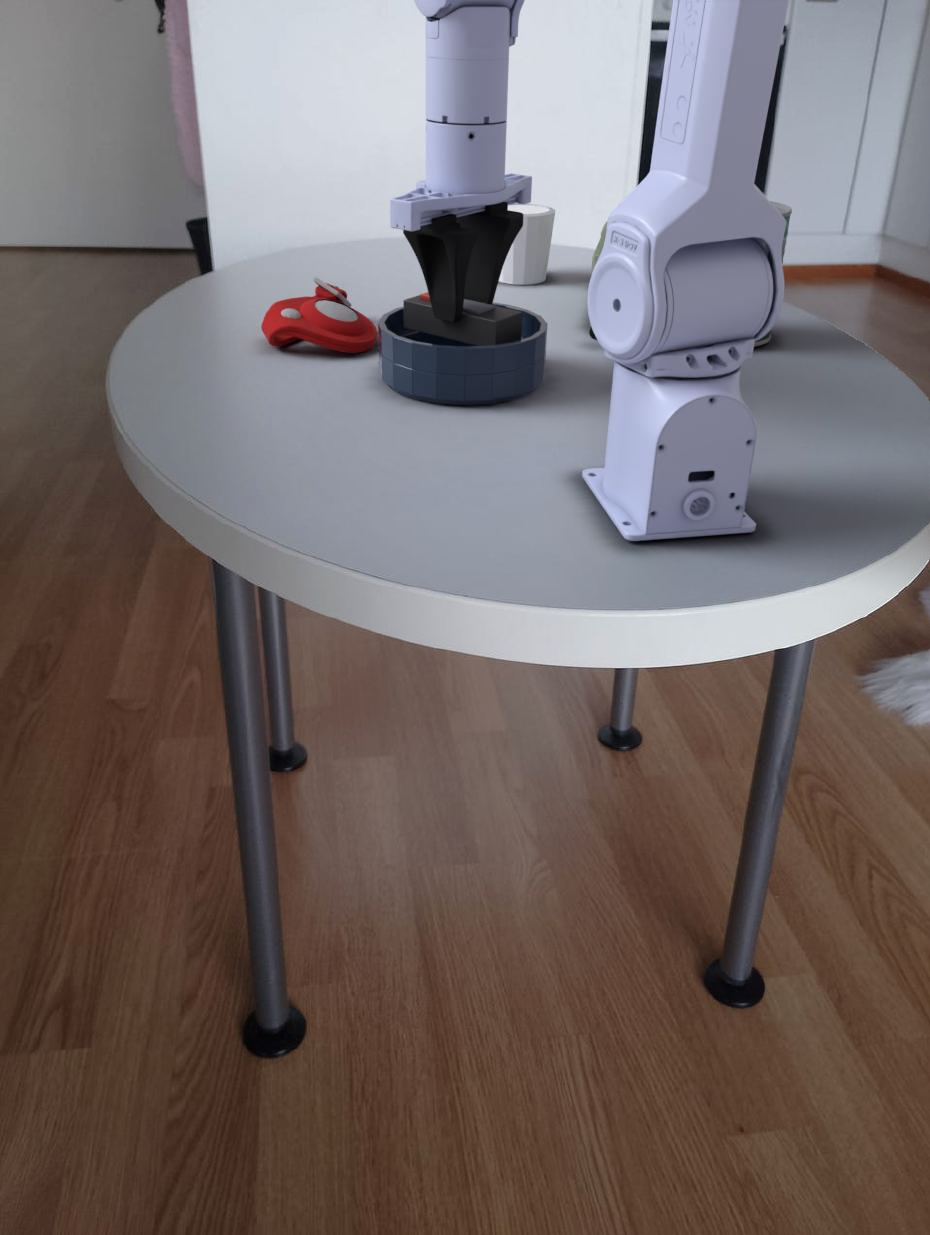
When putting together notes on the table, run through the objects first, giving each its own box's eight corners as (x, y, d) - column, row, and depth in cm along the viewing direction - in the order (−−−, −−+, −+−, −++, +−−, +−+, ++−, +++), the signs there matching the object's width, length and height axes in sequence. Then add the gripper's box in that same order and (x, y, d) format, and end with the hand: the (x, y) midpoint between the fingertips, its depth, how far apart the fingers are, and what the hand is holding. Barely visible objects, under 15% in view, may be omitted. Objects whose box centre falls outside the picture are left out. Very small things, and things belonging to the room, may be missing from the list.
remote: (521, 340, 81) (522, 307, 80) (495, 350, 79) (496, 317, 77) (430, 318, 86) (430, 287, 84) (403, 327, 83) (403, 296, 82)
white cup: (479, 282, 110) (481, 212, 106) (496, 268, 115) (499, 200, 112) (543, 288, 108) (547, 217, 105) (558, 273, 114) (562, 205, 110)
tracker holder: (400, 337, 89) (290, 323, 84) (385, 383, 92) (277, 372, 86) (349, 272, 97) (245, 255, 91) (336, 316, 99) (234, 302, 94)
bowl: (562, 403, 80) (566, 344, 77) (391, 411, 77) (390, 351, 75) (522, 350, 90) (524, 297, 88) (371, 356, 88) (370, 302, 86)
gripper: (481, 107, 81) (477, 286, 88) (354, 124, 71) (361, 324, 78) (558, 115, 78) (547, 301, 85) (435, 134, 68) (435, 343, 75)
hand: (463, 313), depth 81 cm, fingers closed on remote, 3 cm apart
